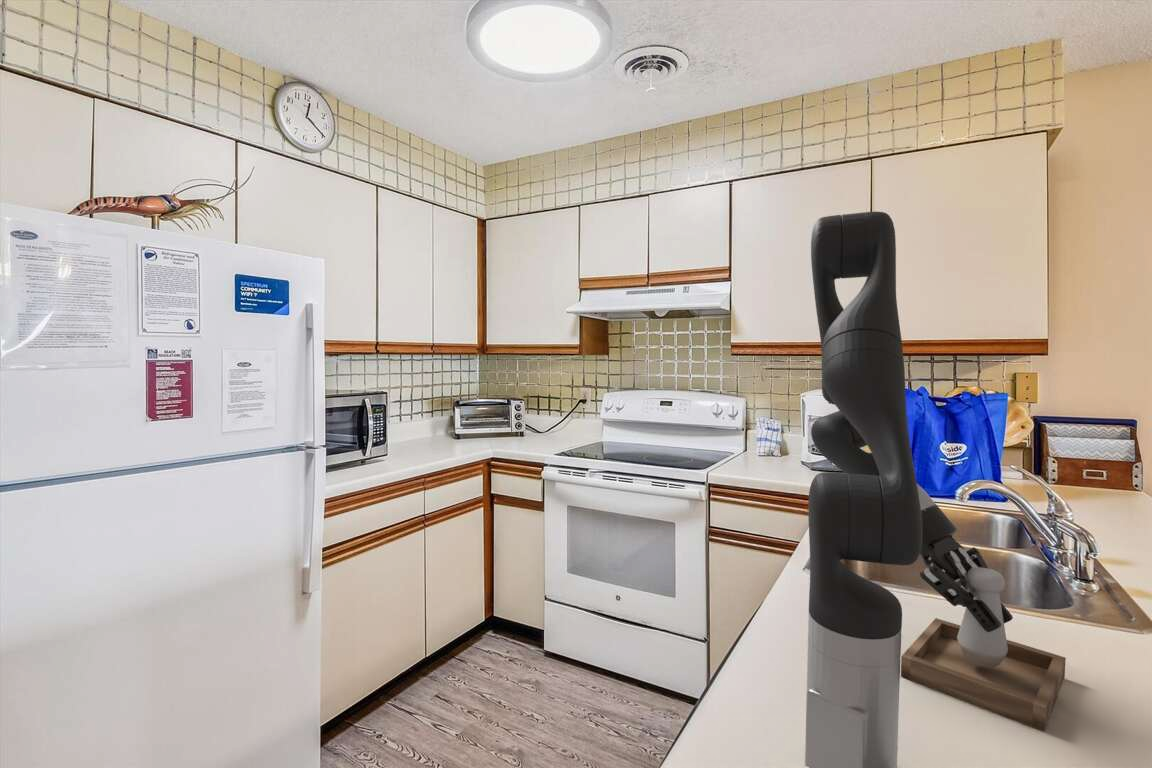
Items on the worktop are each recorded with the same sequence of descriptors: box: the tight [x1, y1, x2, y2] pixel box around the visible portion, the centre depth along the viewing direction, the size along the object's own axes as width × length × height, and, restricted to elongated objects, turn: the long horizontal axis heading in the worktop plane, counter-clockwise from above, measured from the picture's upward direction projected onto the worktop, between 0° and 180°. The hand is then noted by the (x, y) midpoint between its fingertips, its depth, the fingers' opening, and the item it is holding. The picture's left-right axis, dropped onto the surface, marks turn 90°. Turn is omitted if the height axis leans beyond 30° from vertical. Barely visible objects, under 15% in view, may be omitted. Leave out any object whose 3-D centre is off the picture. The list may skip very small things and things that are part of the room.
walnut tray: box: [900, 617, 1066, 732], centre depth 81 cm, size 16×16×3 cm
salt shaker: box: [957, 567, 1008, 668], centre depth 81 cm, size 6×6×13 cm
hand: (1000, 625), depth 79 cm, fingers closed on salt shaker, 3 cm apart
